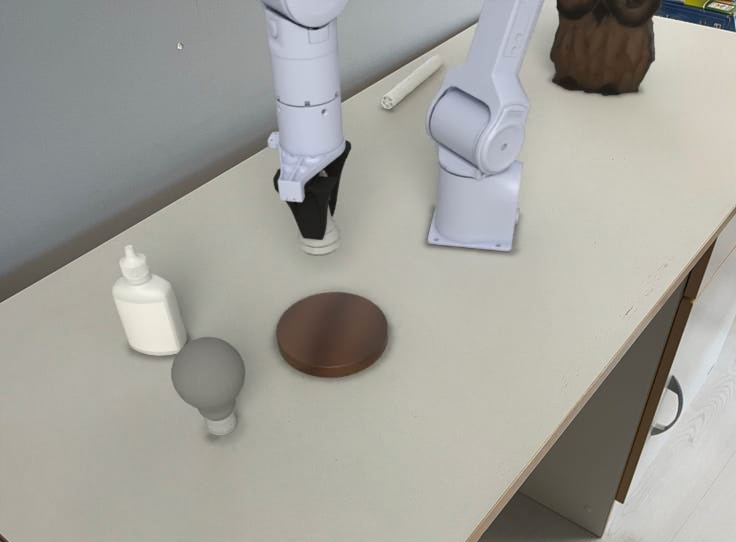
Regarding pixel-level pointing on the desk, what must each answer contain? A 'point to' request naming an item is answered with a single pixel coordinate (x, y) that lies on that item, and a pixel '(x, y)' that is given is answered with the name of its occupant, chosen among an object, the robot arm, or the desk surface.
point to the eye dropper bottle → (147, 308)
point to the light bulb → (210, 380)
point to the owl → (603, 45)
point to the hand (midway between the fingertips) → (318, 225)
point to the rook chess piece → (329, 240)
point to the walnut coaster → (332, 334)
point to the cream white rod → (411, 82)
